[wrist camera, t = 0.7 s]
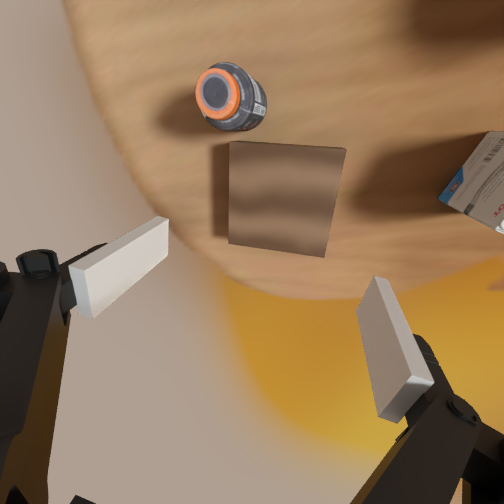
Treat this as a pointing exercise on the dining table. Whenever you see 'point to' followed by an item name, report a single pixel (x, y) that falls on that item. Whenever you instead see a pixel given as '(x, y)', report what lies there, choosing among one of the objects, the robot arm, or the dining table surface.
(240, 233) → the walnut block
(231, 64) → the pill bottle
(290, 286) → the dining table surface
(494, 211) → the ink box
